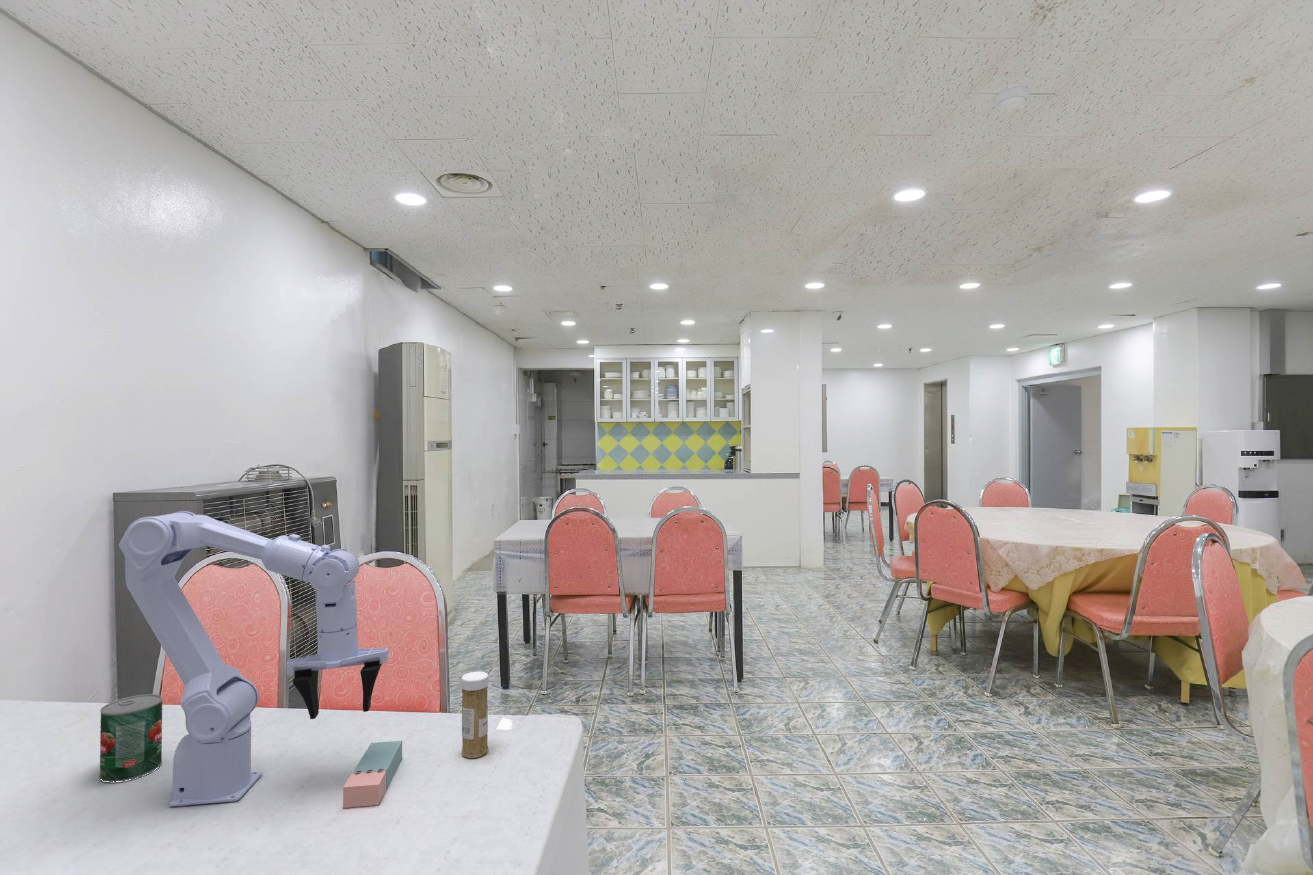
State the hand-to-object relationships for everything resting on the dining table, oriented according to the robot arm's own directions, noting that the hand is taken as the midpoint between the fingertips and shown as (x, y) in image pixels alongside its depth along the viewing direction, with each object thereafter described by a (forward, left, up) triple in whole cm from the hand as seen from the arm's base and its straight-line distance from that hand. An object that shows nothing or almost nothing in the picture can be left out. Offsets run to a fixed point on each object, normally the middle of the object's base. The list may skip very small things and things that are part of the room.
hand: (340, 712), depth 100 cm
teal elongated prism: (+5, +1, -11) cm, 12 cm away
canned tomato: (-35, +9, -11) cm, 38 cm away
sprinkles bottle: (+20, +6, -11) cm, 24 cm away
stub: (+5, -6, -11) cm, 14 cm away
